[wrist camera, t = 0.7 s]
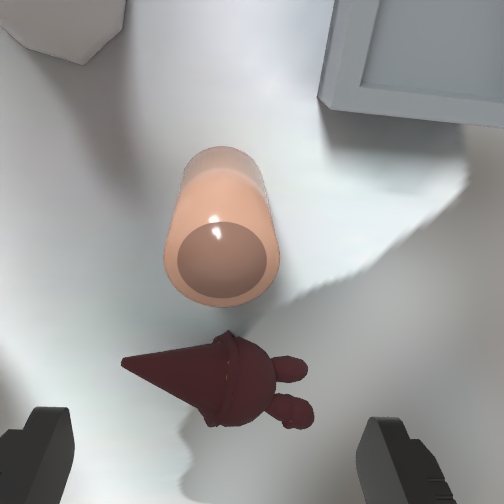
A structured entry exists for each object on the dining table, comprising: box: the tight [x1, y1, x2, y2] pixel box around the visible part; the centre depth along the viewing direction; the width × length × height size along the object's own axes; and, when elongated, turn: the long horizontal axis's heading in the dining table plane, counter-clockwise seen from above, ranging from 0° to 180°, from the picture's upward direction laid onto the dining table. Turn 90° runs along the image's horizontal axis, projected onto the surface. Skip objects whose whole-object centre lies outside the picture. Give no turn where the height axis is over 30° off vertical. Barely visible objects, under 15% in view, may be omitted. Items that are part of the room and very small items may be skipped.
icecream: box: [121, 330, 314, 430], centre depth 30 cm, size 7×7×15 cm
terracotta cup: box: [164, 146, 280, 307], centre depth 22 cm, size 5×5×9 cm
